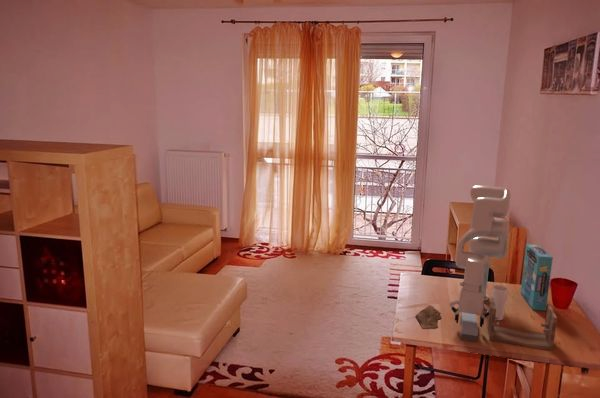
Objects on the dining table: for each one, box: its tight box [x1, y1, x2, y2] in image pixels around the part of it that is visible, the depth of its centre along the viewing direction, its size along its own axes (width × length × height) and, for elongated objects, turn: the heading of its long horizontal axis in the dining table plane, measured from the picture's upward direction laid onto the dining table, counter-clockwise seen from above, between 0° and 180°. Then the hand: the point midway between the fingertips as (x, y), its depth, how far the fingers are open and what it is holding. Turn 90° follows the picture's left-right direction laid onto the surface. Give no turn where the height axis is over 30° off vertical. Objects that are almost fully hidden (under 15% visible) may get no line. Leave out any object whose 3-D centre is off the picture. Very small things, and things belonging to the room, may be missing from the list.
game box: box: [520, 243, 553, 312], centre depth 227 cm, size 20×6×27 cm, turn 170°
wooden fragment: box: [415, 304, 442, 330], centre depth 211 cm, size 26×11×1 cm, turn 156°
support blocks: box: [459, 318, 478, 342], centre depth 199 cm, size 18×6×3 cm, turn 162°
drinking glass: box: [490, 284, 509, 321], centre depth 210 cm, size 7×7×15 cm
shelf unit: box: [486, 297, 558, 351], centre depth 192 cm, size 12×24×14 cm, turn 72°
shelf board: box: [460, 312, 479, 337], centre depth 198 cm, size 20×6×2 cm, turn 162°
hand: (468, 323), depth 198 cm, fingers open, 9 cm apart
